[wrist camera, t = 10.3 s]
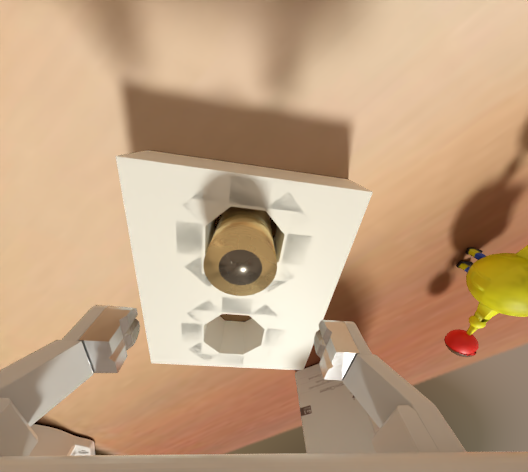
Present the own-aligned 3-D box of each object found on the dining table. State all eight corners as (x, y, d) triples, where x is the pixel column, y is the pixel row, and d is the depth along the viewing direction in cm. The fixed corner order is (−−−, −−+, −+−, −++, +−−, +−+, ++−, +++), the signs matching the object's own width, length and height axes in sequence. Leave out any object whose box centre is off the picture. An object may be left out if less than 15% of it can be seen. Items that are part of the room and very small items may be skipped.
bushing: (266, 245, 20) (270, 298, 14) (219, 240, 19) (202, 293, 13) (273, 201, 18) (283, 240, 12) (222, 195, 17) (203, 231, 11)
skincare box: (344, 350, 28) (425, 550, 14) (361, 370, 30) (443, 558, 17) (291, 372, 30) (320, 567, 16) (310, 390, 32) (350, 572, 19)
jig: (296, 337, 26) (303, 370, 23) (166, 329, 25) (151, 363, 21) (348, 179, 17) (372, 192, 14) (147, 150, 16) (115, 156, 12)
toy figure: (447, 319, 26) (506, 377, 20) (405, 317, 25) (453, 376, 19) (554, 170, 17) (711, 191, 11) (494, 164, 17) (626, 182, 11)
